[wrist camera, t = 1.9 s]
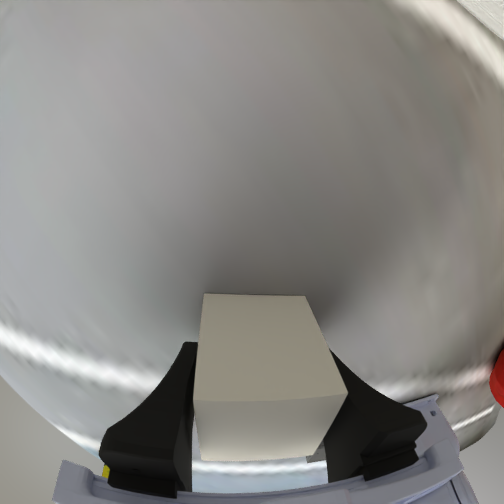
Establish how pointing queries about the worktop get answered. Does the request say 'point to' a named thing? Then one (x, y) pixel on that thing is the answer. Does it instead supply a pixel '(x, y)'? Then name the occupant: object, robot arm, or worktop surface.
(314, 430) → the cream rectangular block
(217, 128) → the worktop surface
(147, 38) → the worktop surface
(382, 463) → the robot arm
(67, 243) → the worktop surface
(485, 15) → the ceiling medallion
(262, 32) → the worktop surface
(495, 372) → the tomato
